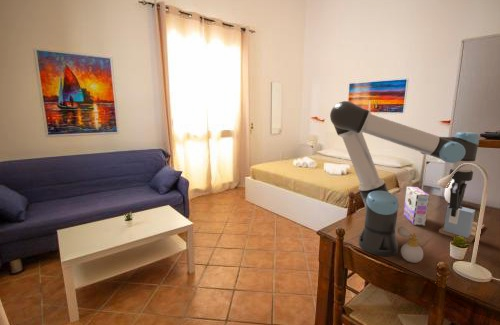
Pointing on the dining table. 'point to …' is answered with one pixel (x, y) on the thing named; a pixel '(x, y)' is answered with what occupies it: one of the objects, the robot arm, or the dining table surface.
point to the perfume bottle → (410, 247)
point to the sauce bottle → (448, 192)
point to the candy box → (416, 205)
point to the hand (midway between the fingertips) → (452, 222)
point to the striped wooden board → (462, 236)
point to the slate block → (460, 222)
